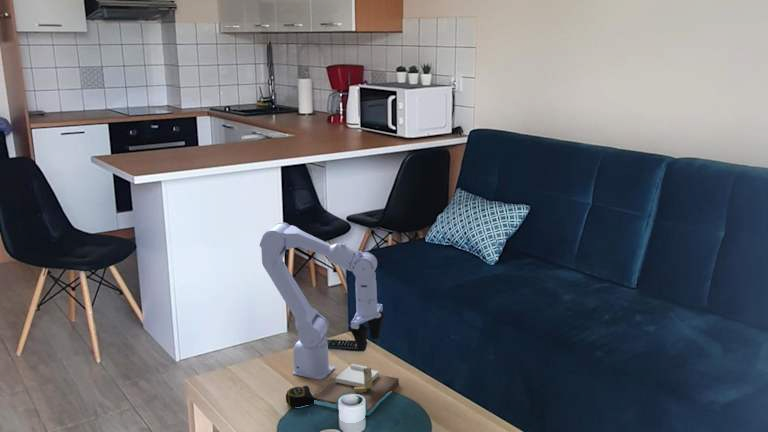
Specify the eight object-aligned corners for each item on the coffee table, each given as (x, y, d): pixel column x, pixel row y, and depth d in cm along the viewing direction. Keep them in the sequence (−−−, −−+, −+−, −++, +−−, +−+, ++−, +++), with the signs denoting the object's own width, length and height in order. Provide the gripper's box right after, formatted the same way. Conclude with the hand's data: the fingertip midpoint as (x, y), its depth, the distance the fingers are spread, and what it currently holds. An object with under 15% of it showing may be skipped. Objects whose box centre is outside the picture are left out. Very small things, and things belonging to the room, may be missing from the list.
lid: (335, 382, 188) (335, 374, 188) (350, 369, 195) (349, 362, 195) (365, 388, 184) (364, 380, 184) (378, 375, 191) (378, 367, 191)
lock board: (313, 404, 182) (313, 396, 181) (347, 374, 197) (347, 367, 197) (368, 416, 175) (367, 409, 174) (398, 385, 190) (398, 377, 190)
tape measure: (314, 408, 180) (314, 395, 179) (288, 413, 178) (287, 399, 177) (310, 396, 186) (309, 383, 185) (284, 400, 185) (283, 387, 184)
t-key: (354, 398, 179) (354, 381, 178) (354, 385, 186) (353, 369, 185) (372, 397, 180) (372, 380, 178) (371, 384, 186) (371, 368, 185)
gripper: (366, 308, 183) (368, 356, 187) (391, 291, 196) (392, 336, 199) (343, 304, 187) (345, 352, 190) (369, 287, 199) (371, 332, 202)
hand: (368, 343), depth 195 cm, fingers open, 7 cm apart
